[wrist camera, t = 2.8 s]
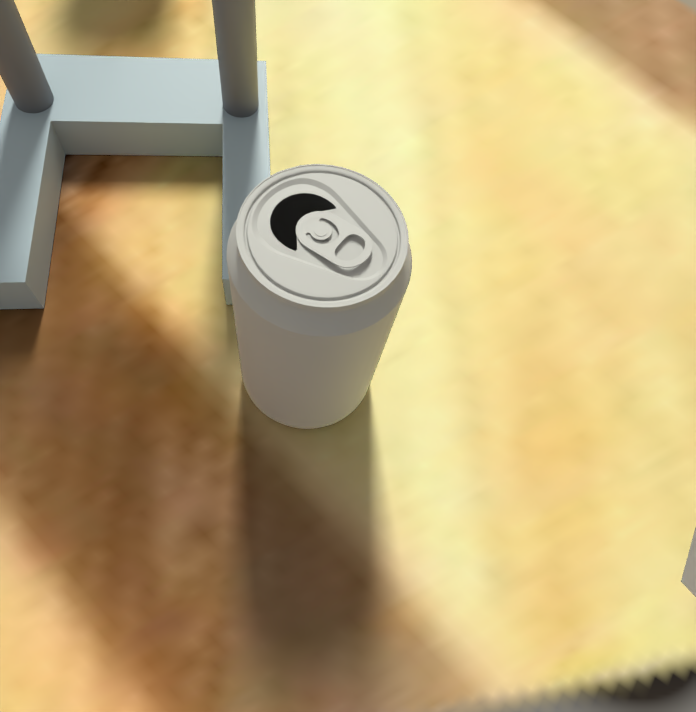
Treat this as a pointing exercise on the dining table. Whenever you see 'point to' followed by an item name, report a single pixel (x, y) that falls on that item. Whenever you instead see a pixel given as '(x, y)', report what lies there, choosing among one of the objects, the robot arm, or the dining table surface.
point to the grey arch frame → (120, 129)
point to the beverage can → (315, 290)
